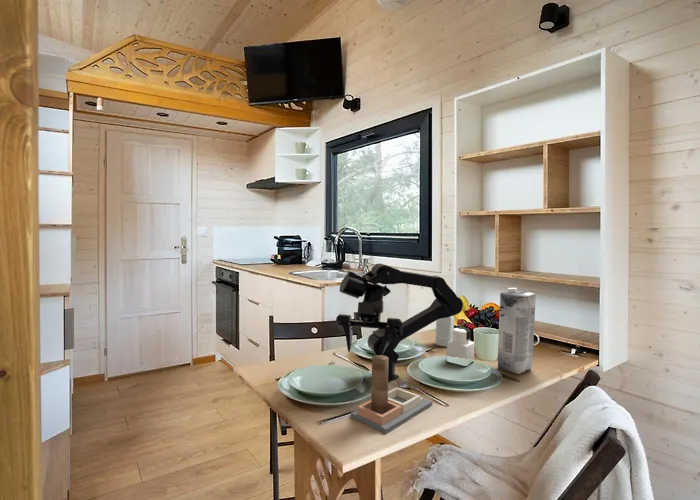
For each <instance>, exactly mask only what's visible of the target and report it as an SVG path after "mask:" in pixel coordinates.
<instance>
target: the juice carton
mask: <svg viewBox="0 0 700 500" xmlns="http://www.w3.org/2000/svg"><path fill="white" fill-rule="evenodd" d="M536 295H537V294H536V293H534V292H529V291H522V290H521V291H520V290H518V288H517V287H508V288H507V291H505V292H504V291H503V292H500V293H499V297H500V298H499V315H498V316H499V317H498V318H499V320H498V321H499V322H498V341H497V368H498V369H499V368H500V370H502V369H503V371H505V370H507V371H506V372H509V371H510V372H509V373H511V372H513V373H512V374H514V373H516V374H515V375H520V374H522V373H524V372H527V371H529V369H530V370H531V369H532V367H533V366H532V364H533V361H534V360H533V359H534V357H533V356H534V341H535V340H534V339H535V338H534V337H535V323H536V322H535V317H536V297H537V296H536ZM526 370H527V371H526Z"/></svg>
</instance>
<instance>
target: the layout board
mask: <svg viewBox="0 0 700 500" xmlns="http://www.w3.org/2000/svg"><path fill="white" fill-rule="evenodd" d="M433 403H434V402H433V400H429V399H426V398H424V397H423V396H422V397H421V395H419V394H416V393H414V392H412V391H411V392H410V391H408V390H406V389H403V388H400V387H397V386H396V387H394V388H392V389H391V390H388V412H386V413H384V414H382V415H381V414H379V413H376V412H374V411H372V410H371V399H370V400H368V401H366V402H364V403H362V404H360V405H358V406H357V409H355V410H354V411H352V412H350V418H352V419H353V420H355V421H358V422H359V423H362V424H364V425H367V426H369V427H371V428H373V429H375V430H378V431H380V432H382V433H384V434H388V433H389V432H391V431H392V430H394V429H396V428H398V427H400V426H401V425H402V424H404V423H406V422H408V421H410V420H411V419H412V418H414V417H416V416H417V415H419V414H421V413H422V412H424V411H426V410H427V409H429V408H430V407H432V406H433Z"/></svg>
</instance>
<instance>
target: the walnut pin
mask: <svg viewBox="0 0 700 500" xmlns="http://www.w3.org/2000/svg"><path fill="white" fill-rule="evenodd" d="M388 362H389V358H388V357H387V356H383V355H373V356H372V357H371V375H372V378H371V392H370V393H371V395H370V396H371V397H370V398H371V399H370V400H371V410H372V411H374V412H376V413H379V414H381V415H382V414H384V413H386V412H388V391H389V382H388Z"/></svg>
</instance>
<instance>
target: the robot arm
mask: <svg viewBox="0 0 700 500" xmlns="http://www.w3.org/2000/svg"><path fill="white" fill-rule="evenodd" d="M380 284H381V285H380ZM397 284H403V285H404V284H406V285H412V286H416V287H417V286H418V287H423V288H424V287H425V288H430V289H431V291H432V293H433V296H434V298H435V299H434V300H433V301H432V302H431V304H430V305H429V307H426V308H425V309H424V310H422V311H419V312H418V313H417V314H415V315H413V316H411V317H410V318H408V319H406V320H404V321H402V320H401V319H400V318H396V317H395V318H393V317H387V319H386V321H381V315H382V313H384V297H386V296H387V295H389V294H391V290H390V288H388V287H387V285H397ZM339 292H340V293H342V294H344V295H346V296H349V297H352V298H355V299H359V298H362V297H363V300H362V301H358V303H357V304H358V305H357V311H356V312H357V315H358V316H357V317H358V318H359V319H353V318H352V316H351V315H350V314H337V316H336V318H335V319H336V320H335V324H336V326H337V329H338V330H339V331H341V332H342V334H345V341H346V347H347V351H348V353H351V349H352V344H353V343H352V342H353V335H354V332H353V327H354V328H365V329H367V328H368V329H376V330H373V331H371V334H370V335H369V336H368V338H367V347H368V348H369V349H370V350H371V351H372V353H373V356H376V355H383V356H387V357H388V358H389V362H388V383H389V382H391V381H395V380H396V379H398V378H399V377H400V376H399V375H398V374H395V370H396V363H397V362H398V360H399V357H400V355H399V354H398V352H397V351H395V350H396V348H398V346H399V344H400V343H401V342H402V341H404V340H405V339H407V338H409V337H410V336H412V335H413V334H415V333H417V332H419V331H420V330H422V329H424V328H425V327H428V326H429V325H431V324H432V323H434V322H436V320H438V319H441V318H447V317H451V316H454V317H455V316H456V315H457V316H458V315H459V314H460V313H461V312H462V311H463V308H464V306H463V305H464V303H463V300H462V299H461V298H460V297H459V296H457V294H456V293H455V291H454V290H453V289H452V288H451V287H450V286H449V284H448V283H447V282H446V280H445V278H443V277H441V276H438V275H429V274H422V273H417V272H411V271H404V270H400V269H398V268H395V267H393V266H389V265H388V264H383V263H376V264H374V265H373V266H372V267H371V269H370V270H369V271H368V272H366V273H365V274H363V275H359V274H356V273H354V272H352V271H350V270H348V271H347V273H346V275H344V277H343V279H342V280H341V282H340V285H339Z"/></svg>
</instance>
